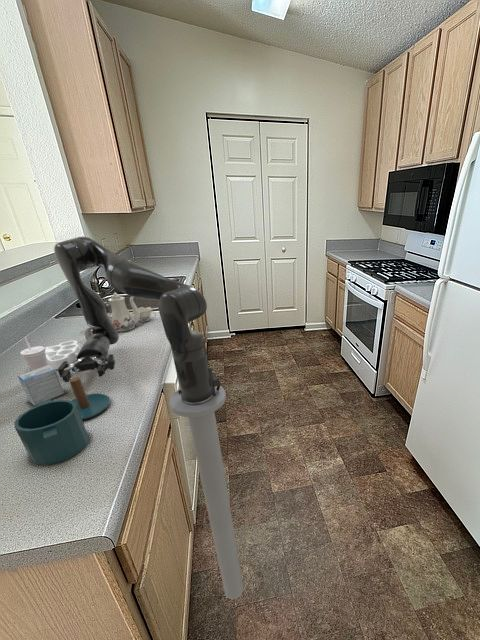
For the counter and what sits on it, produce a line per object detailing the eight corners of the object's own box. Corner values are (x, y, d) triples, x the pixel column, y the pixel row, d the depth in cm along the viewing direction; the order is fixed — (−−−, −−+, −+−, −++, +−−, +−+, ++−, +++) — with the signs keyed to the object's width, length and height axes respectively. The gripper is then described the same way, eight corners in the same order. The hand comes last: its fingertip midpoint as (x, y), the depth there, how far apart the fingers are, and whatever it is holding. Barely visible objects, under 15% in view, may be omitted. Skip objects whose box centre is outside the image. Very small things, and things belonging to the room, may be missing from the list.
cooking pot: (83, 420, 87) (71, 390, 83) (94, 455, 75) (81, 422, 71) (30, 438, 81) (14, 406, 77) (33, 480, 69) (14, 445, 65)
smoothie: (39, 372, 111) (22, 334, 105) (59, 371, 112) (44, 333, 105) (27, 382, 105) (9, 342, 99) (48, 381, 106) (31, 341, 100)
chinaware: (154, 318, 162) (146, 284, 156) (161, 325, 149) (152, 288, 143) (89, 330, 150) (77, 293, 143) (89, 339, 136) (76, 299, 130)
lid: (106, 392, 99) (96, 363, 95) (115, 411, 91) (105, 380, 86) (57, 407, 93) (44, 377, 88) (61, 429, 84) (48, 397, 80)
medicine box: (58, 389, 101) (48, 364, 97) (65, 393, 99) (55, 368, 95) (28, 401, 96) (16, 375, 92) (34, 406, 93) (22, 380, 89)
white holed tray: (46, 352, 126) (89, 346, 130) (28, 373, 111) (78, 366, 115) (43, 343, 124) (87, 338, 128) (24, 364, 109) (75, 357, 113)
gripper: (64, 346, 104) (48, 369, 90) (114, 339, 108) (107, 360, 94) (72, 367, 107) (58, 392, 94) (120, 360, 111) (114, 383, 98)
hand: (82, 376), depth 94 cm, fingers open, 8 cm apart
